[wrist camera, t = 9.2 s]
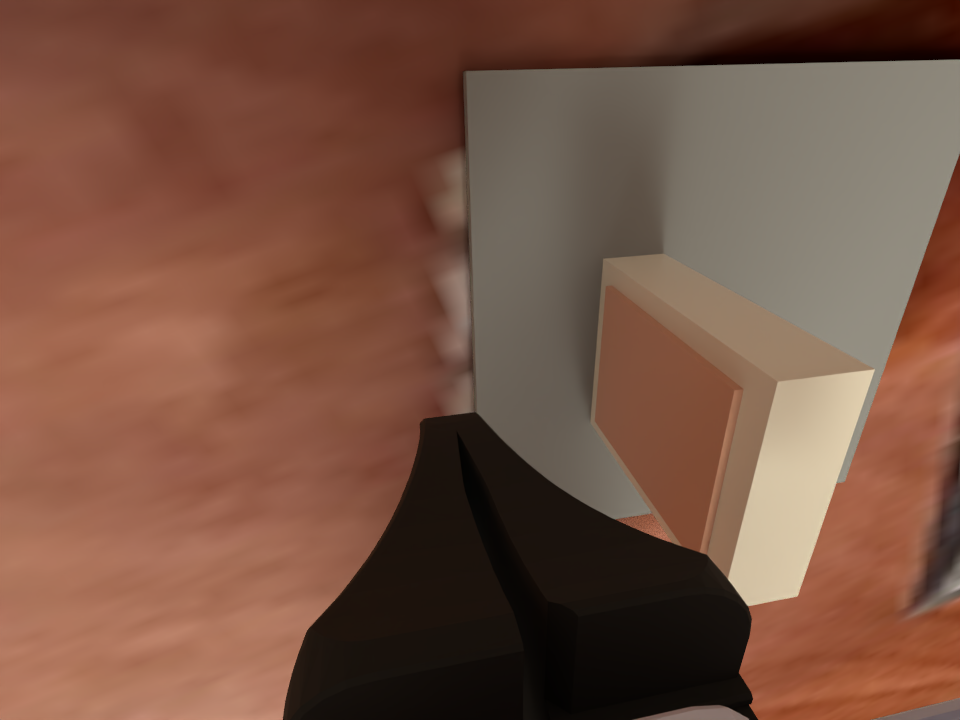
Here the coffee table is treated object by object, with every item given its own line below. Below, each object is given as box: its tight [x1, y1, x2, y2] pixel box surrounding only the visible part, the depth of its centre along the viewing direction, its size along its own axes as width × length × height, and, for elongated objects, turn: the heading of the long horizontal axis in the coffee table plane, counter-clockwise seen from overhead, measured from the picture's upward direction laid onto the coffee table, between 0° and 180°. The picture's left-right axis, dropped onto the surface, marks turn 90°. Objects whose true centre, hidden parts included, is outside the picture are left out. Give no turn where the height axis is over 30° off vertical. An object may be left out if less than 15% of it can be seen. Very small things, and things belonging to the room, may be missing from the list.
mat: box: [463, 60, 960, 519], centre depth 19 cm, size 16×16×1 cm
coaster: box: [590, 254, 875, 606], centre depth 15 cm, size 6×2×8 cm, turn 2°
